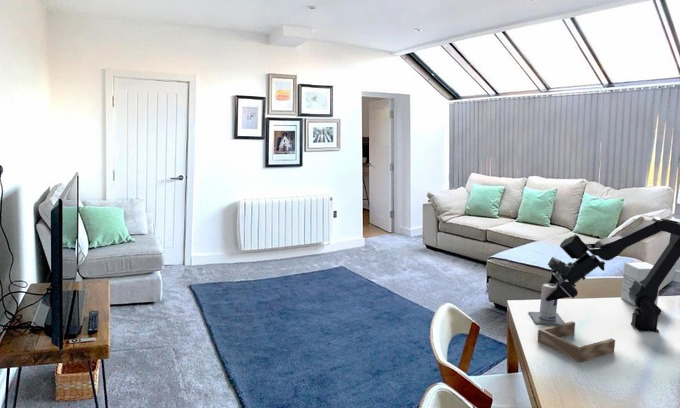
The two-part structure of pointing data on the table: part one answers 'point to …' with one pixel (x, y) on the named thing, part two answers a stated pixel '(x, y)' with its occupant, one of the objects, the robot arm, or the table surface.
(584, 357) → the bay
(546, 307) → the energy drink
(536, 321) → the mat
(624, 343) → the table surface
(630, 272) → the supplement box
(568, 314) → the table surface
